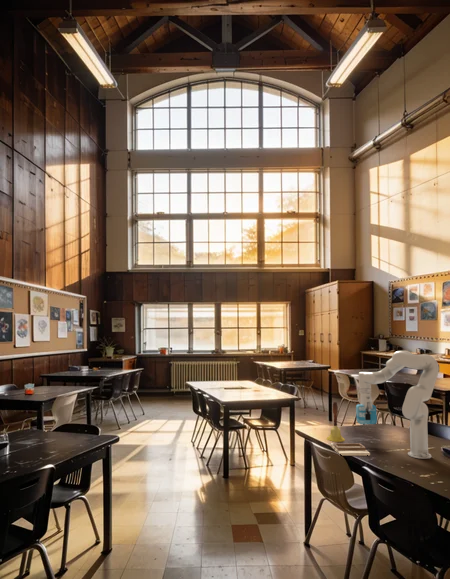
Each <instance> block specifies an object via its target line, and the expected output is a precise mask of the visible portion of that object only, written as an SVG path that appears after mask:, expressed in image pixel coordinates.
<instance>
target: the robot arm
mask: <svg viewBox="0 0 450 579" xmlns="http://www.w3.org/2000/svg"><path fill="white" fill-rule="evenodd" d="M385 365H386V366H385V367H384V368H382V369H381V370H379V371H371V372H369V371H360V372H358V389H359V390H358V392H359V395H360V397H359V398H360V402H359V403H360V404H362V405H364V409H365V412H366V414H365V420H371V417H370V410H371V409H372V405H373V401H372V400H373V399H372V385H378V384H383V383H386V382H387V381H388V380H390V379H391V378H392V377H394V376H395V375H396V373H398V372H400V371H401V370H402V369H404V368H409V369H413V370H422V372H421V374H420V377H419V380H418V382H417V385H413V386H411V387H409V388H408V390H407V392H406V395H405V396H404V397H405V398H404V401H403V404H402V406H401V407H402V409H401V411H402V415H403V416H404V418H405V419H408V420H410V421H409V439H410V442H409V443H410V445H409V446H410V451H408V452H407V455H408V456H409V457H411V458H414V459H415V458H416V459H421V460H425V459H431V458H432V454H431V453H429V436H428V419H429V408H428V405H427V404H426V403H425V402H427V401H429V400H430V399H431V398H432V394H433V391H434V388H435V384H436V381H437V378H438V376H439V371H440V368H439V363H438V361H437V360H436V358H435V357H434V356H432V355H430V354H426V353H423V354H414V353H412V352H410V351H409V350H397V351H395V352H393V353H392V356H391V358H390V359H388V360H387V361H386V362H385ZM370 407H371V408H370ZM366 408H368V409H366Z"/></svg>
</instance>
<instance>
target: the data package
mask: <svg viewBox="0 0 450 579" xmlns="http://www.w3.org/2000/svg"><path fill="white" fill-rule="evenodd" d="M370 408H371V407H370ZM366 409H368V408H366ZM355 412H356V423H358V424H360V425H376V424H377V423H378V417H377V416H378V415H377V407H376V405H374V404H372V409H371V410H370V417H371V420H365V414H366V412H365V409H364V405H362V404H359V403H358V404H356V406H355Z"/></svg>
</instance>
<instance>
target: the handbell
mask: <svg viewBox="0 0 450 579" xmlns="http://www.w3.org/2000/svg"><path fill="white" fill-rule="evenodd" d="M338 412H339V409H338V402H337V401H333V403H332V413H333V427H331V428H330V434H329V435H328V436H327V437H326V440H327V441H329V442H332V443H333V442H334V443H344V442H345V441H346V439H345V438H344V437H343V436H342V435H341V434H342V431H341V428H339V427H338Z"/></svg>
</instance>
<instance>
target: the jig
mask: <svg viewBox="0 0 450 579" xmlns="http://www.w3.org/2000/svg"><path fill="white" fill-rule="evenodd" d="M329 446H330V447H331V448H332V450H334V451H335V453H337V454H338V453H339V454H341V455H342V457H343V456H348V457H349V456H351V457H352V456H355V457H356V456H360V457H361V456H365V457H366V456H367V455H368V456H371V452H369V451H368V450H367V449H366V447H365V445H363V444H362V443H360V442H358V443H357V442H356V443H352V442H351V443H350V442H349V443H348V442H347V443H346V442H345V443H344V442H334V443H333V442H331V443H330V444H329ZM339 454H338V455H339Z"/></svg>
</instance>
